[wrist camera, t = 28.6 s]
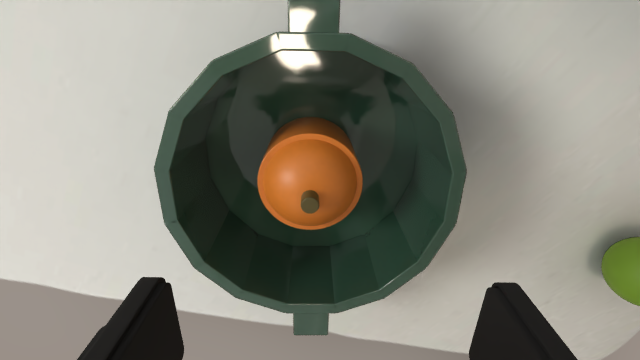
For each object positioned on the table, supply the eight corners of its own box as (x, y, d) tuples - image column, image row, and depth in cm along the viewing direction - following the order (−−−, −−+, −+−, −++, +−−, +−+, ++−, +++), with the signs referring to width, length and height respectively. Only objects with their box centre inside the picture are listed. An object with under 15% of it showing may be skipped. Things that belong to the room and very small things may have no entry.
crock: (447, -11, 21) (509, -34, 14) (405, 276, 29) (432, 343, 23) (176, -18, 20) (112, -44, 14) (215, 276, 29) (186, 344, 22)
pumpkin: (357, 117, 23) (375, 149, 16) (351, 200, 26) (365, 256, 19) (264, 116, 23) (245, 147, 16) (268, 199, 25) (252, 256, 19)
